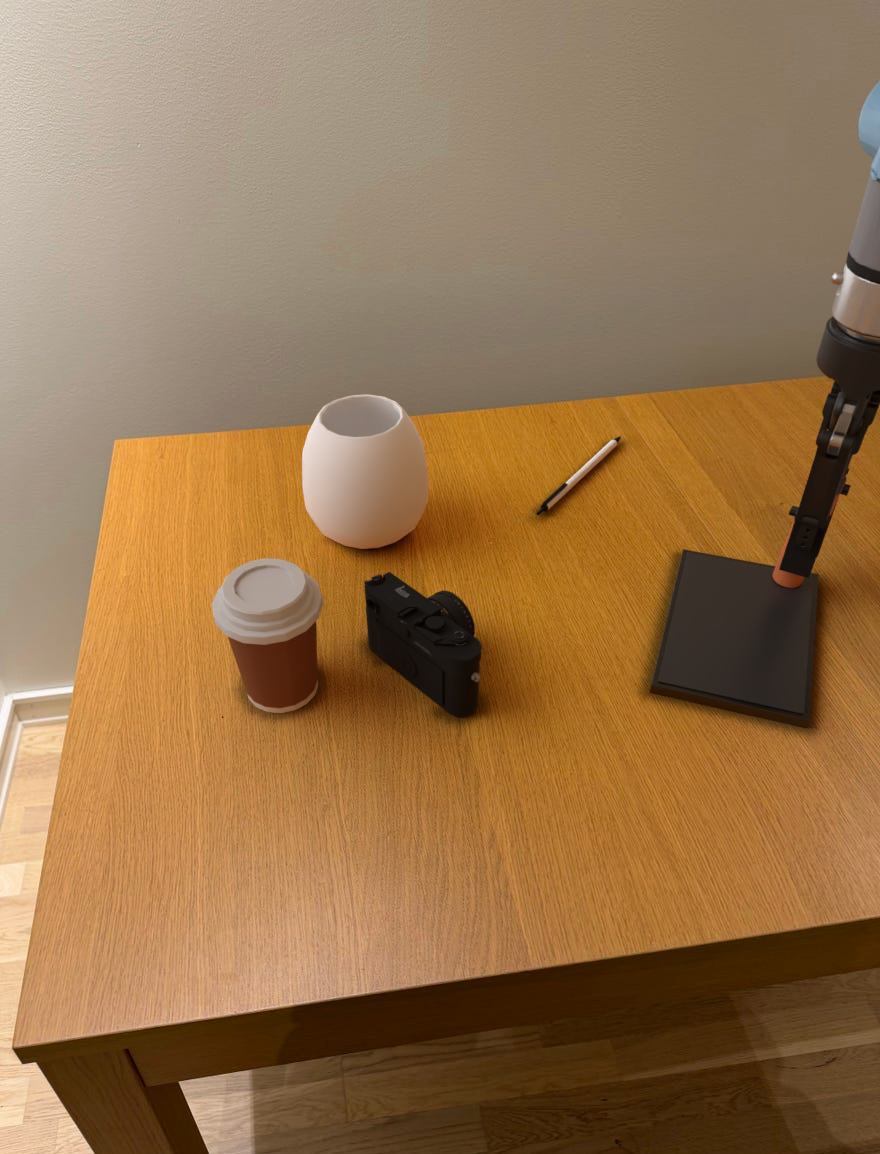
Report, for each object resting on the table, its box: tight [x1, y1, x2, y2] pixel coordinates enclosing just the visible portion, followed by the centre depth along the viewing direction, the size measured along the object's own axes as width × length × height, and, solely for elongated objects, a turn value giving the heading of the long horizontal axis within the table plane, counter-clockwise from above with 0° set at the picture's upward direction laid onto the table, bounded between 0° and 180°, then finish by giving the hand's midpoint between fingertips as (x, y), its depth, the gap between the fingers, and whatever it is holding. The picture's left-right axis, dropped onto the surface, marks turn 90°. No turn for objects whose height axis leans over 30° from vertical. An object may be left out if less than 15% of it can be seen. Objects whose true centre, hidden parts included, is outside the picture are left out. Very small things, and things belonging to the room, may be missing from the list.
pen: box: [536, 435, 622, 516], centre depth 104 cm, size 1×19×1 cm, turn 143°
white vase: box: [301, 393, 430, 550], centre depth 95 cm, size 13×13×14 cm
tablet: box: [649, 549, 820, 729], centre depth 85 cm, size 20×13×1 cm, turn 160°
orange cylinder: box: [773, 474, 847, 588], centre depth 85 cm, size 3×3×12 cm
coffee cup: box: [211, 557, 324, 714], centre depth 78 cm, size 9×9×12 cm
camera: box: [363, 571, 483, 718], centre depth 81 cm, size 14×7×8 cm, turn 41°
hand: (799, 560), depth 87 cm, fingers closed on orange cylinder, 3 cm apart
